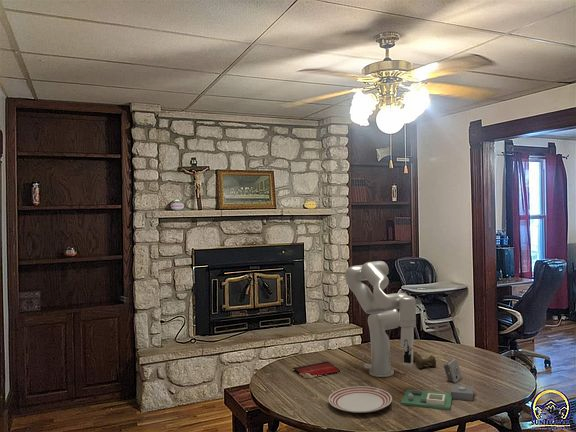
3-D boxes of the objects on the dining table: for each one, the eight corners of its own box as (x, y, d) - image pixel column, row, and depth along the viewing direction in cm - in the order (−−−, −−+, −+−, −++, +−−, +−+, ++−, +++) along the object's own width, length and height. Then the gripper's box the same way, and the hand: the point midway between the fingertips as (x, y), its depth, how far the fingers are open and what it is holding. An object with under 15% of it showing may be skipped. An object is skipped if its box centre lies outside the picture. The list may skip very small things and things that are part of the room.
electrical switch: (455, 383, 233) (452, 363, 233) (445, 382, 236) (442, 363, 236) (462, 377, 240) (459, 358, 240) (452, 376, 243) (449, 358, 244)
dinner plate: (349, 423, 195) (348, 415, 195) (317, 400, 221) (317, 392, 220) (405, 409, 206) (405, 401, 206) (369, 388, 231) (369, 381, 231)
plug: (403, 364, 230) (403, 348, 229) (404, 361, 233) (404, 345, 233) (411, 365, 228) (411, 348, 228) (413, 362, 232) (412, 346, 231)
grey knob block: (450, 398, 215) (450, 390, 215) (452, 391, 223) (451, 383, 223) (472, 400, 211) (472, 392, 211) (473, 393, 220) (473, 385, 220)
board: (401, 404, 211) (400, 396, 211) (406, 391, 226) (406, 384, 225) (450, 410, 203) (449, 401, 203) (452, 395, 218) (452, 388, 218)
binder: (292, 367, 262) (327, 360, 270) (293, 371, 262) (327, 364, 270) (305, 377, 247) (342, 370, 256) (306, 381, 247) (342, 374, 256)
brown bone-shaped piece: (421, 360, 272) (440, 370, 252) (405, 362, 269) (423, 372, 250) (420, 349, 272) (439, 358, 252) (404, 351, 269) (422, 361, 250)
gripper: (402, 317, 239) (402, 354, 240) (396, 327, 223) (397, 366, 224) (418, 318, 236) (418, 356, 237) (413, 328, 220) (413, 368, 221)
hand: (408, 360), depth 231 cm, fingers closed on plug, 4 cm apart
